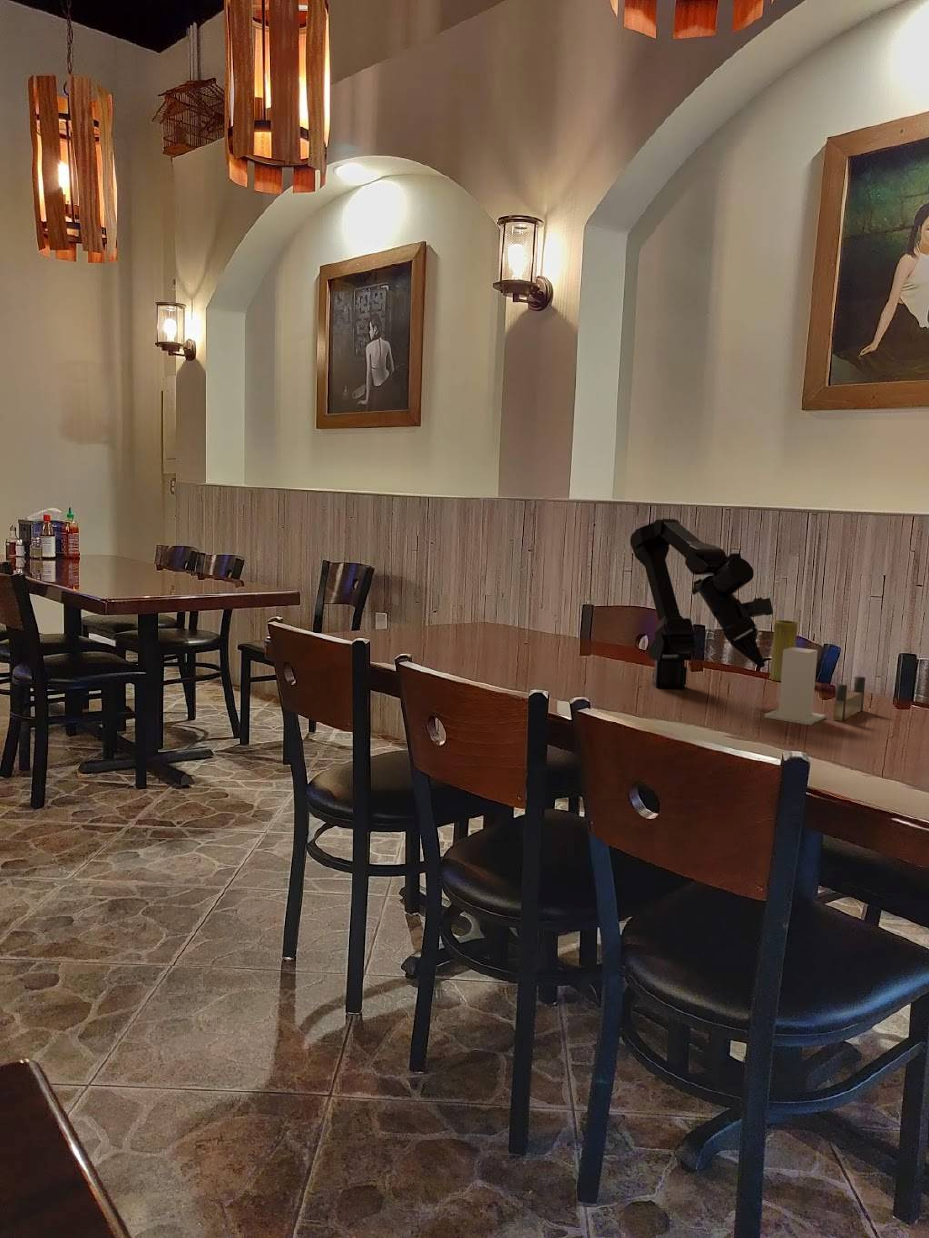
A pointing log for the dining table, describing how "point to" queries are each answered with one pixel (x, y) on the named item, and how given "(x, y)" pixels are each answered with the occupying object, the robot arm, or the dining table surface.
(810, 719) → the coaster
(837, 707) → the rack
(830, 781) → the dining table surface
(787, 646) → the vase
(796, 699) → the beige tall rectangular block
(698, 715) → the dining table surface
